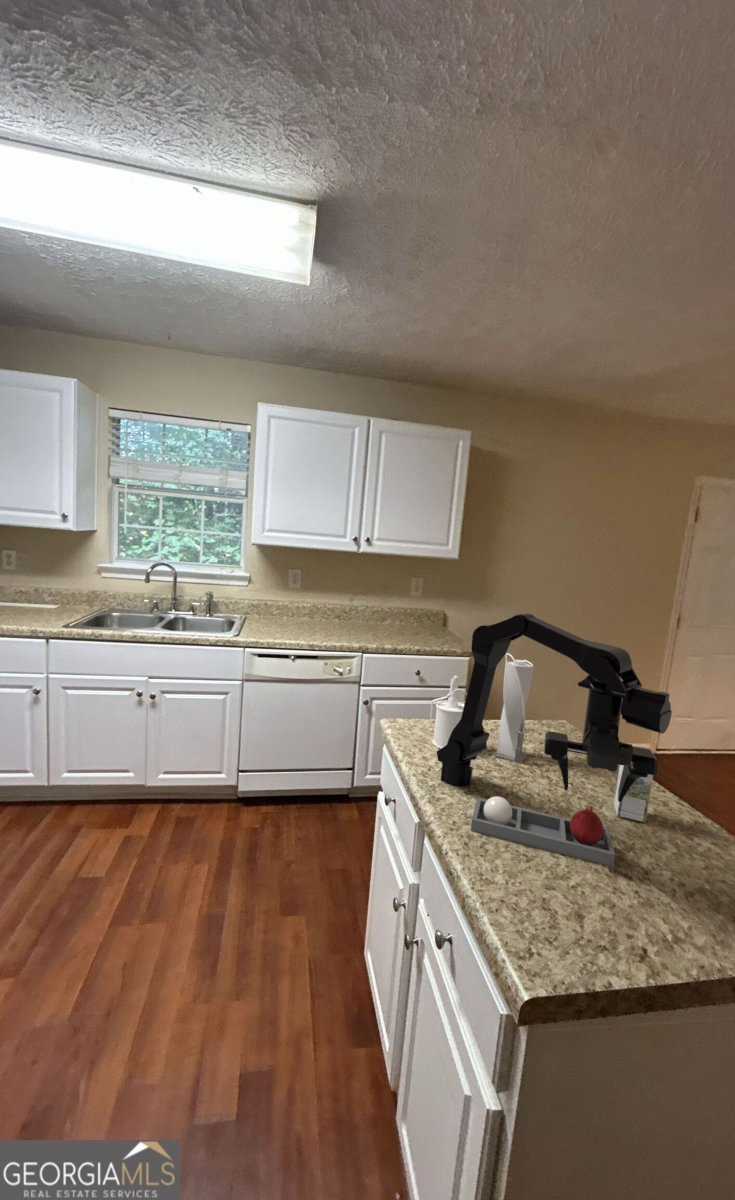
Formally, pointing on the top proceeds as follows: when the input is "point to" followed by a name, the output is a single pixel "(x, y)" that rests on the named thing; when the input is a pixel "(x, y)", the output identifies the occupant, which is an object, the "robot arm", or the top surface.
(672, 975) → the top surface
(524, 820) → the egg tray
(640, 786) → the syrup box
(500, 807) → the ceramic egg
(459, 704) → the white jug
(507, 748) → the skyscraper
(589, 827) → the onion
